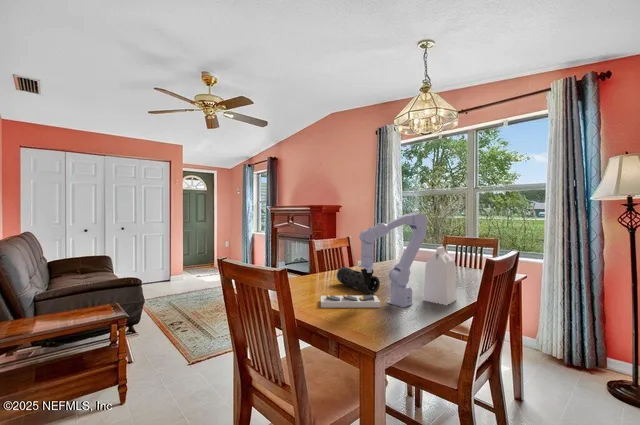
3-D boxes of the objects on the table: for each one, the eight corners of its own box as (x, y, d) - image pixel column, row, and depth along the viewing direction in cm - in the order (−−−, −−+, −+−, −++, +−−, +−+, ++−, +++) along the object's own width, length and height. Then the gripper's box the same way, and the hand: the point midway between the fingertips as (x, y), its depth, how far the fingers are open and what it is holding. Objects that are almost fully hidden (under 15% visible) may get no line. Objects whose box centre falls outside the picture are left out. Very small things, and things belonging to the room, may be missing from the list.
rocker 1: (338, 299, 146) (339, 297, 146) (339, 302, 142) (339, 299, 142) (326, 296, 146) (326, 293, 146) (326, 298, 142) (327, 296, 142)
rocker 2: (372, 296, 146) (371, 293, 146) (374, 298, 142) (373, 296, 142) (360, 299, 146) (359, 297, 146) (361, 302, 142) (360, 299, 142)
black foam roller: (366, 297, 157) (366, 276, 156) (335, 284, 180) (335, 267, 180) (380, 294, 162) (380, 274, 161) (348, 282, 185) (348, 265, 185)
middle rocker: (355, 299, 146) (356, 297, 146) (356, 302, 142) (357, 299, 142) (343, 296, 146) (343, 293, 146) (343, 298, 142) (344, 296, 142)
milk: (433, 295, 160) (434, 245, 159) (456, 299, 152) (457, 247, 151) (423, 300, 151) (423, 247, 150) (446, 305, 143) (447, 249, 142)
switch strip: (376, 300, 150) (376, 295, 150) (380, 307, 140) (380, 301, 140) (320, 300, 150) (320, 295, 150) (320, 307, 140) (320, 301, 140)
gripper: (356, 253, 150) (356, 281, 151) (360, 258, 136) (360, 289, 136) (371, 253, 150) (371, 281, 151) (376, 258, 136) (376, 289, 136)
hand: (367, 284), depth 144 cm, fingers closed
